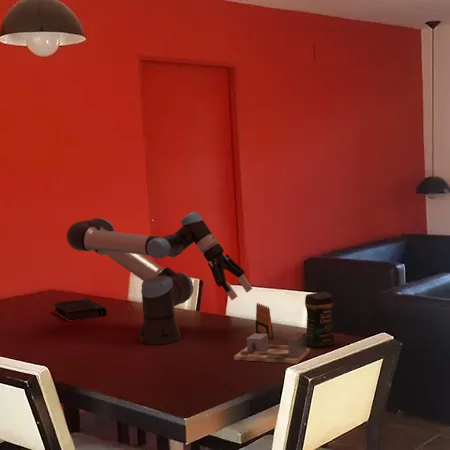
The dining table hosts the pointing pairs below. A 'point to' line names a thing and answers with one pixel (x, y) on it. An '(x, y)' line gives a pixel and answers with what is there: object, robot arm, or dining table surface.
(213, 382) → the dining table surface
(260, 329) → the ammunition clip
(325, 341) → the coffee jar
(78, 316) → the diary
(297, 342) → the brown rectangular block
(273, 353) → the board
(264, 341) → the grey rectangular block
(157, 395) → the dining table surface
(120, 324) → the dining table surface
